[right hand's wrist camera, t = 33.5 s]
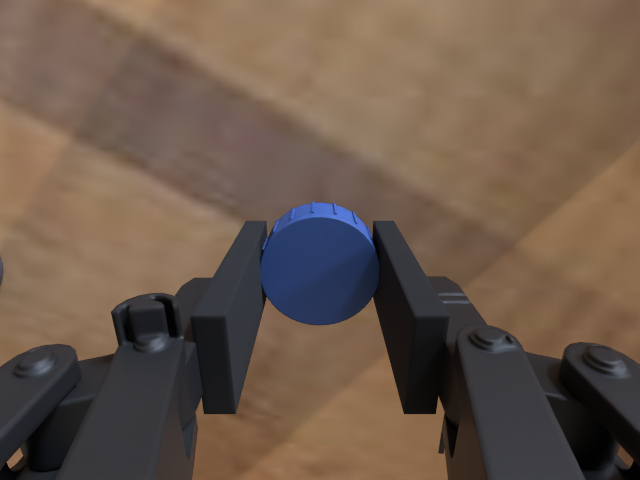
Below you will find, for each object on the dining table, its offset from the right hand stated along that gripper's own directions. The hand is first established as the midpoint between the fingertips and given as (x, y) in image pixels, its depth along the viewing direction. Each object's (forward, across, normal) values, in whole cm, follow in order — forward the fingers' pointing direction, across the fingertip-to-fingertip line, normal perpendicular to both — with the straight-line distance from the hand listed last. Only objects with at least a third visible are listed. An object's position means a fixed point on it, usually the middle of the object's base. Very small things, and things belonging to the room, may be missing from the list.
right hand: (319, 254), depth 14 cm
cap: (-2, 0, 0) cm, 2 cm away
